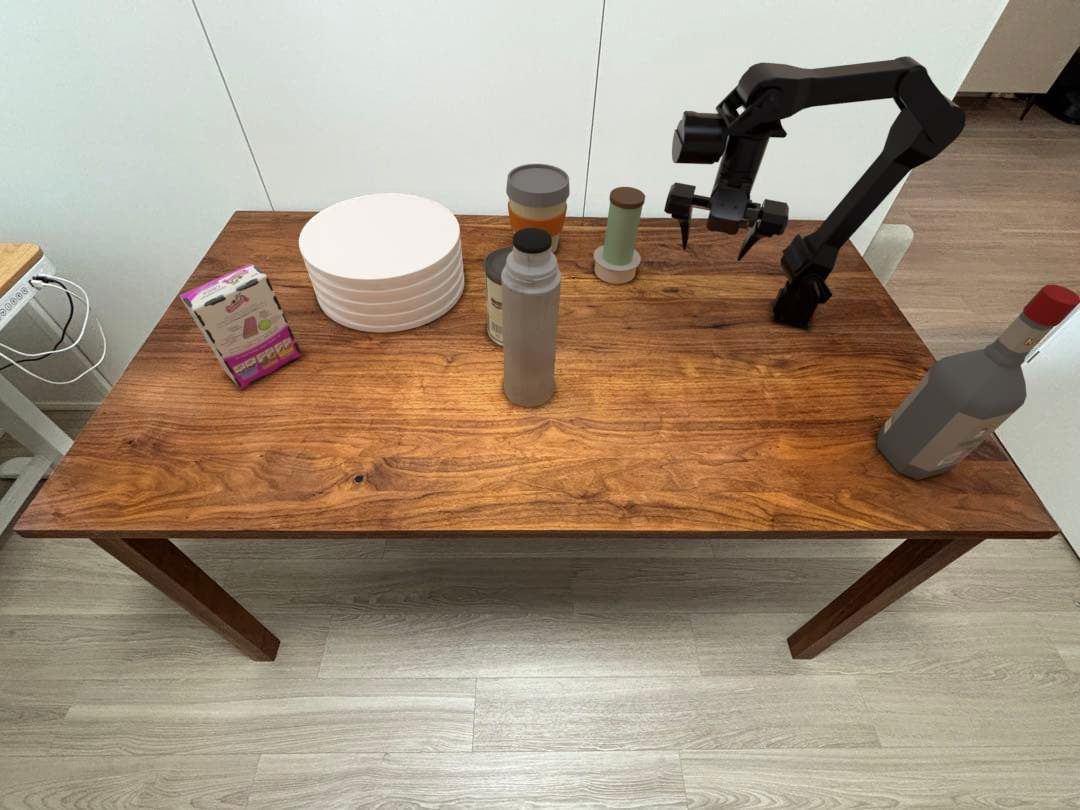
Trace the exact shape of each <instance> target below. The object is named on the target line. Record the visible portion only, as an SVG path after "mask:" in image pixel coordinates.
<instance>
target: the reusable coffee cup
mask: <svg viewBox="0 0 1080 810" xmlns="http://www.w3.org/2000/svg"><path fill="white" fill-rule="evenodd" d="M570 191H571V190H570V177H569V174H568V173H567V172H566V171H565V170H563V169H561V168H560V167H557V166H554V165H550V164H545V163H526V164H522V165H519V166H516V167H514V168H513V169H511V170H510V171H509V172H508V174H507V179H506V189H505V192H506V196H507V197H508V202H507V210H508V218H509V224H510V228H511V230H512V231H513V235H514V234H515V233H516V232H517V231H519V230H521V229H525V228H539V229H542V230H545V231H546V232H548V233H549V234H550V235H551V237H552V245H551V252H552V253H553V254H554V253H555V252H556V251H557V249H558V245H559V240H560V234H561V232H562V231H563V229H564V225H565V222H566V221H565V220H566V215H567V210H568V204H567V201H568V198H569V197H570Z"/></svg>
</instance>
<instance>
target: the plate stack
mask: <svg viewBox="0 0 1080 810" xmlns="http://www.w3.org/2000/svg"><path fill="white" fill-rule="evenodd" d="M298 247H299V248H298V249H299V251H300V254H301V256H302V259H303V261H304V266H305V268H306V270H307V273H308V276H309V279H310V282H311V284H312V288H313V290H314V294H315V297H316V300H317V303H318V304H319V307H320V308H321V310H322V311H323V313H324V314H325V315H326V316H327V317H328V318H329V319H330V320H332V321H334V322H335V323H337V324H339V325H341V326H344V327H346V328H349V329H352V330H356V331H361V332H367V333H395V332H402V331H407V330H412V329H414V328H419V327H422V326H425V325H426V324H429V323H431V322H433V321H435V320H437V319H439V318H441V317H442V316H444V315H445V314H447V313H448V312H450V310H451V309H452V308H453V307H454V306H455V305H456V304H457V303H458V301H459V300H460V299H461V296H462V295H463V292H464V289H465V273H464V262H463V251H462V240H461V229H460V224H459V221H458V218H457V217H456V216H455V214H454V213H453V212H452V211H451V210H449V208H447V207H445V206H444V205H442V204H441V203H439V202H437V201H435V200H432V199H429V198H427V197H423V196H419V195H414V194H409V193H408V194H407V193H395V192H394V193H393V192H389V193H387V192H386V193H385V192H383V193H372V194H366V195H361V196H356V197H351V198H348V199H345V200H342V201H338V202H337V203H334V204H332V205H329V206H328V207H326V208H324V209H323V210H321V211H319V212H318V213H316V214H315V215H314V216H312V217H311V218H310V219H309V220H308V221H307V222H306V223H305V224H304V226H303V228H302V229H301V231H300V233H299V237H298Z"/></svg>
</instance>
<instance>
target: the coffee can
mask: <svg viewBox="0 0 1080 810" xmlns="http://www.w3.org/2000/svg"><path fill="white" fill-rule="evenodd" d="M512 251H513V245H510V246H503V247H500V248H497V249H494V250H493V251H490V252H489V253H488V254H487V255H486V256H485V258H484V260H483V272H484V282H485V284H484V285H485V301H486V302H485V303H486V319H487V334H488V336H489V339H490V340H491V341H493V342H494V343H496V344H497V345H499V346H501V347H503V322H502V284H501V275H502V271H503V269H504V267H505V265H506V260H507V257H508V255H509V254H510V252H512Z"/></svg>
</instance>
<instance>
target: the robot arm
mask: <svg viewBox="0 0 1080 810" xmlns="http://www.w3.org/2000/svg"><path fill="white" fill-rule="evenodd" d="M888 99H893V102H894V103H895V105H896V106H897V107H898V109H899V110H900V111H899V113H898V115H897V116H896V118H895V119H894V121H893V123H892V124H891V126H890V127H889V130H888V133H887V136H886V139H885V142H884V146H883V149H882V151H881V152H880V154H878V156H877V158H876V159H874V161H873V162H872V163H871V164H870V166H868V168H867V170H865V172H864V173H863V174H862V175H861V176H860V178H859V179H858V180H857V181H856V183H854V185H853V186H852V187H851V188H850V190H849V191H848V192H847V193H846V194H845V196H843V198H842V199H841V200H840V202H839V203H838V204H837V205H836V206H835V208H834V209H833V210H832V211H831V212H830V214H829V215H828V216H827V217H826V219H825V220H824V221H823V222H822V223H821V224H820V226H819V227H818V228H817V229H816V230H815V231H814V232H811V233H809V234H807V235H805V236H803V235H802V234H801V233H797V234H796V235H794V237H793V239H792V240H791V242H790V243H789V245H787V246H786V248H784V249H783V250H782V254H783V255H781V258H780V267H781V269H782V271H783V273H784V276H785V278H786V279H787V280H786V281H785V284H784V286H783V287H780V288H779V289H778V291H777V294H776V296H775V298H774V300H773V301H772V307H771V312H772V314H773V317H772V321H773V322H774V323H777V324H781V325H786V326H790V327H791V326H792V327H796V328H800V329H805V330H809V329H810V327H811V320H812V317H813V316H814V313H815V311H816V310H817V308H818V306H819V305H823V304H824V305H825V304H826V303H827V302H828V301H829V300H830V299H831V298H832V297H833V293H832V291H831V290H830V287H829V286H828V284H827V282H826V281H827V279H828V277H829V276H830V274H831V273H832V272H833V270H834V269H835V265H836V263H837V259H838V255H839V254H840V250H841V249H842V247H843V246H844V245H845V244H846V243H847V242H848V241H849V239H850V238H851V237H852V236H853V235H854V234H855V233H856V232H857V231H858V229H860V228H861V226H863V224H864V223H865V222H866V221H867V219H868V218H869V217H870V216H872V214H873V213H874V212H875V210H876V209H878V207H879V206H880V205H881V204H882V203H883V202H884V200H885V199H886V198H887V197H888V196H889V195H890V194H891V192H892V191H893V190H894V189H896V187H897V186H898V185H899V184H900V182H902V180H903V179H904V178H905V177H906V176H907V175H908V174H909V172H911V171H912V170H913V169H915V168H917V167H919V166H921V165H923V164H925V163H928V162H931V161H932V160H934V159H935V158H937V157H938V156H939V155H940V154H941V153H942V152H943V151H945V149H947V148H948V147H949V146H950V145H951V144H952V143H954V142H955V141H956V140H957V139H958V138H959V137H960V135H961V134H962V133H963V131H965V130H964V129H965V128H966V125H967V124H966V120H967V115H966V111H965V110H964V109H963V108H961V107H960V105H958V104H956V103H955V102H954V101H953V100H951V99H950V98H948V96H946V95H944V94H943V93H942V92H941V91H940V89H939V88H938V87H937V86H936V84H935V83H934V82H933V79H932V78H931V76H930V75H929V72H928V69H927V67H925V66H924V65H922V63H920V62H918V61H917V60H915V59H914V58H912V57H911V56H906V55H905V56H900V57H896V58H894V59H888V60H887V59H886V60H878V61H870V62H861V63H851V64H844V65H843V64H841V65H835V66H825V67H815V68H804V67H799V66H794V65H791V64H787V63H777V62H776V63H775V62H758V63H755V64H753V65H751V66H749V67H748V69H747V70H746V71H745V72H744V73H743V74H742V76H741V77H740V78H739V80H738V82H737V85H736V86H735V87H734V88H733V89H732V90H731V91H730V92H728V94H727V95H726V96H725V97H724V98H723V99H722V100H721V101H720V102H719V103H718V104H717V105H716V106H715V111H716V112H715V113H714V112H713V113H712V112H697V111H694V110H685V111H683V114H682V116H681V117H682V118H681V119H680V120H679V121H678V123H677V126H676V129H674V133H673V136H672V143H671V144H672V145H671V159H672V163H674V164H684V165H685V164H689V165H714V164H715V163H719V166H718V169H717V173H716V176H715V180H714V183H713V186H712V190H711V193H710V196H705V195H699V194H695V191H696V188H697V185H693V184H687V183H682V182H678V181H677V182H674V183H673V184H671V186H670V188H669V191H668V194H667V197H666V201H665V205H664V209H663V212H664V213H666V214H667V215H671V218H672V219H673V220H676V221H677V222H678V224H679V229H680V233H681V241H682V243H681V245H682V250H683V251H686V249H687V245H688V242H689V238H690V232H691V224H692V216H693V210H694V209H699V210H704V211H709V213H708V217H707V219H706V220H707V221H706V223H705V227H706V229H707V230H708V231H709V232H720V233H724V234H726V235H729V236H735V235H737V234H738V233H739V230H740V229H745V230H748V232H747V234H746V235H745V238H744V240H743V243H742V245H741V247H740V249H739V252H738V255H737V258H736V259H737V260H736V261H737V262H741V260H742V259H743V258H744V257H745V256H746V255H747V253H748V252H749V251H750V250H752V248H753V247H754V245H755V244H757V243H758V242H759V241H760V240H762V239H763V238H772V237H773V236H774V235H775V236H782V235H784V233H785V231H786V228H787V226H788V223H789V218H790V217H789V216H790V215H789V213H790V207H789V205H788V203H787V202H783V201H779V200H773V199H768V198H764V200H763V201H762V203H759V202H754V201H753V199H751V193H752V191H753V189H754V184H755V182H756V180H757V176H758V173H759V171H760V167H761V164H762V162H763V159H764V156H765V153H766V150H767V149H768V148H767V147H768V144H769V142H770V138H773V139H774V138H775V139H777V138H778V139H784V138H786V137H787V135H788V132H787V131H786V130H785V128H784V127H783V125H782V121H781V120H785V119H789V118H791V117H792V116H794V115H796V114H798V113H799V112H801V111H803V110H806V109H810V108H813V107H822V106H832V105H841V104H842V105H843V104H850V103H852V104H853V103H860V102H868V101H869V102H870V101H879V100H880V101H881V100H888ZM740 108H743V111H742V112H741V113H739V112H738V109H740ZM748 228H749V229H748Z"/></svg>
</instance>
